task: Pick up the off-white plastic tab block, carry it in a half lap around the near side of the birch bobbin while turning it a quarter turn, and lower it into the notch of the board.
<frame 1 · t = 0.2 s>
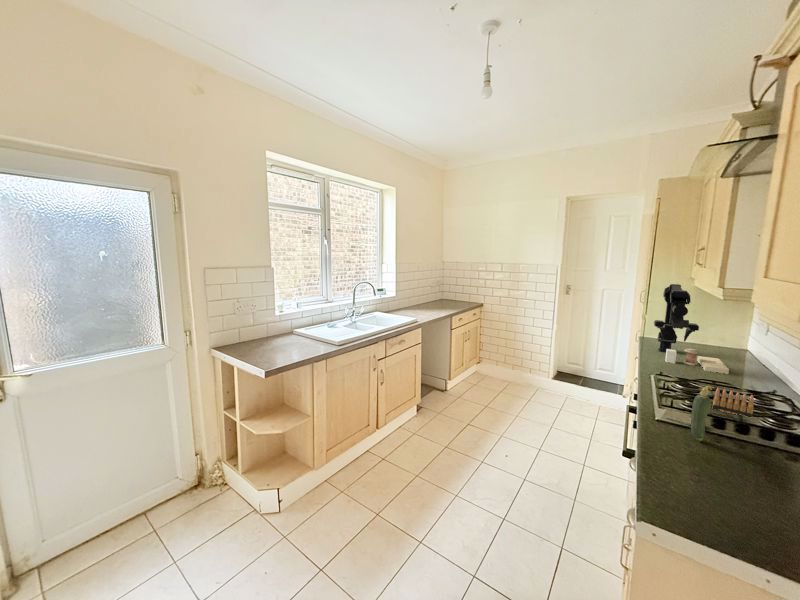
hand: (673, 339, 180), 14 cm above the table, tool pointing down, fingers open, 9 cm apart
ammunition clip: (730, 421, 121), on the table
tab block: (670, 361, 185), on the table
notched board: (711, 366, 176), on the table
vegetable: (696, 440, 109), on the table
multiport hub: (684, 423, 121), on the table
bobbin: (690, 363, 181), on the table
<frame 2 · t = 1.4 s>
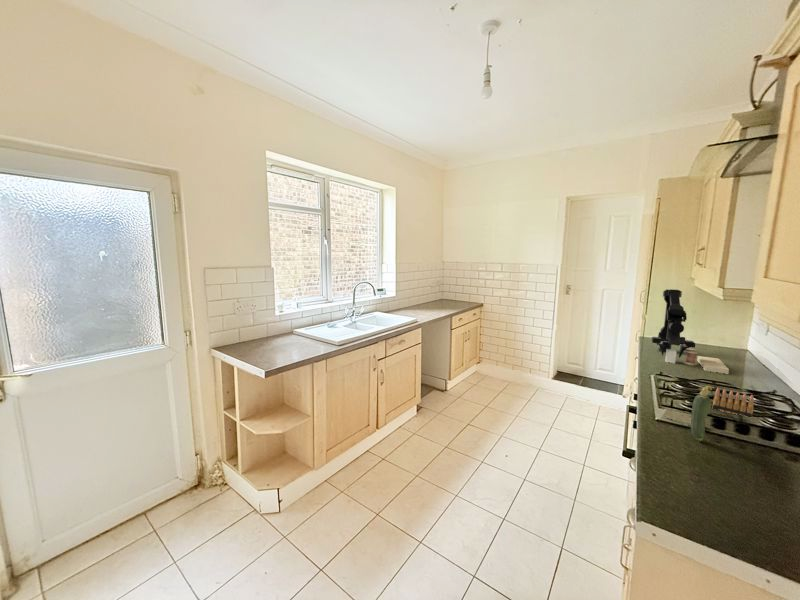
hand: (670, 356, 184), 3 cm above the table, tool pointing down, fingers open, 7 cm apart
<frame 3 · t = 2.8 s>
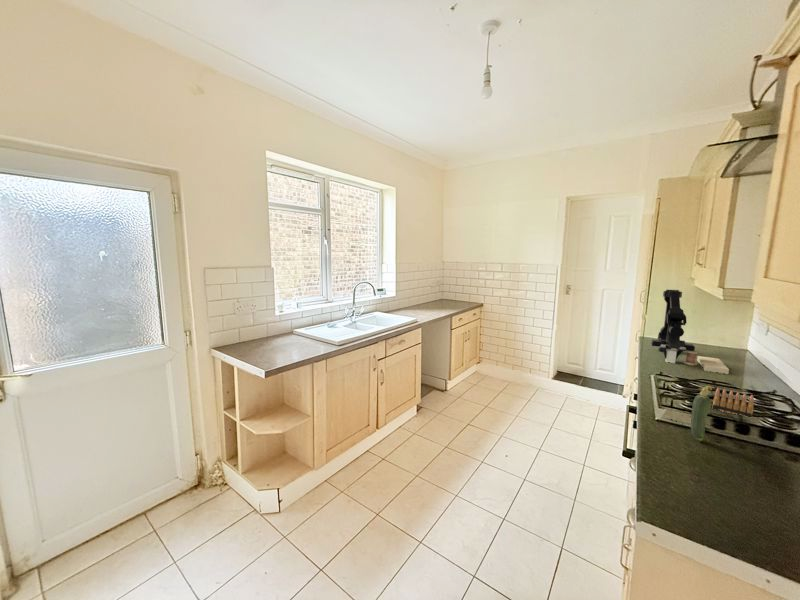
hand: (670, 359, 184), 2 cm above the table, tool pointing down, fingers closed on tab block, 4 cm apart
tab block: (670, 361, 185), on the table, touching gripper
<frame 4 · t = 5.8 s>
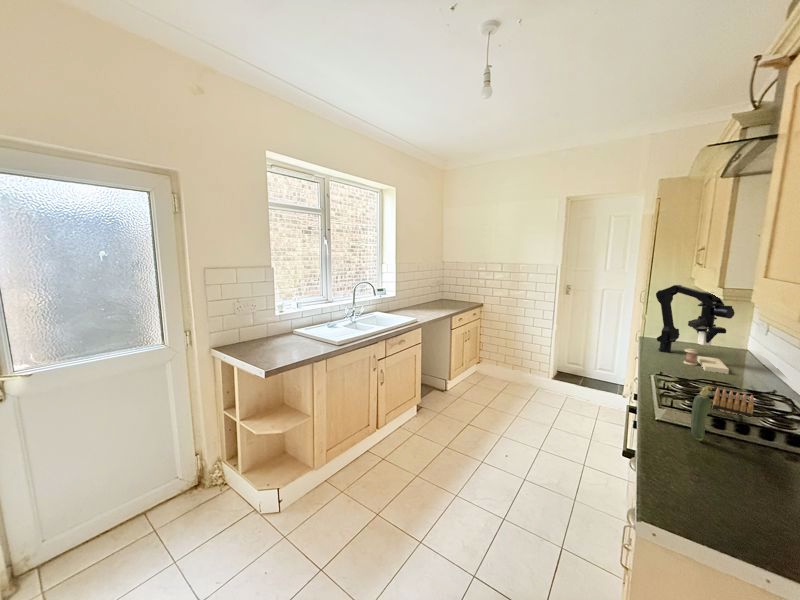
hand: (704, 341, 182), 12 cm above the table, tool pointing down, fingers closed on tab block, 4 cm apart
tab block: (703, 344, 183), point 11 cm above the table, touching gripper
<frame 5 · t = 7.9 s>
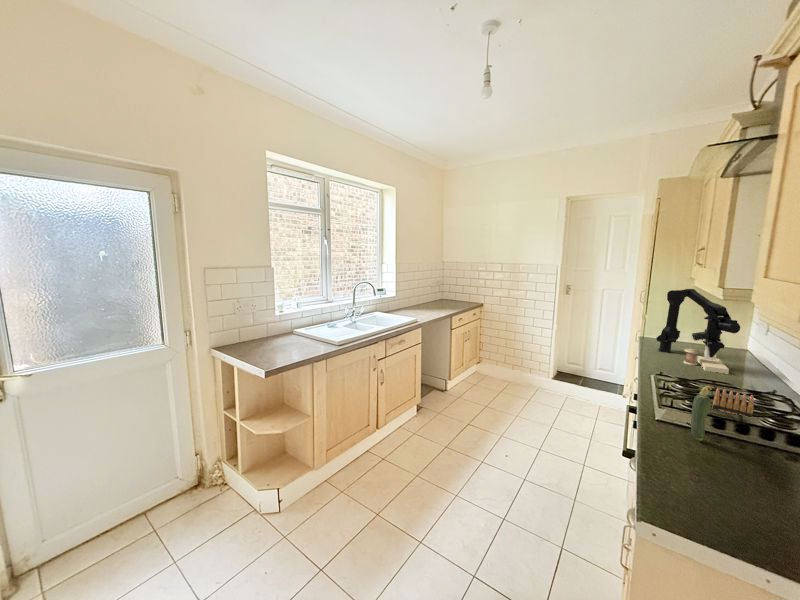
hand: (709, 356, 176), 6 cm above the table, tool pointing down, fingers closed on tab block, 4 cm apart
tab block: (709, 358, 177), point 4 cm above the table, touching gripper
when the fingers open (3 cm above the table, at t = 9.2 s): tab block drops 1 cm, resting on notched board.
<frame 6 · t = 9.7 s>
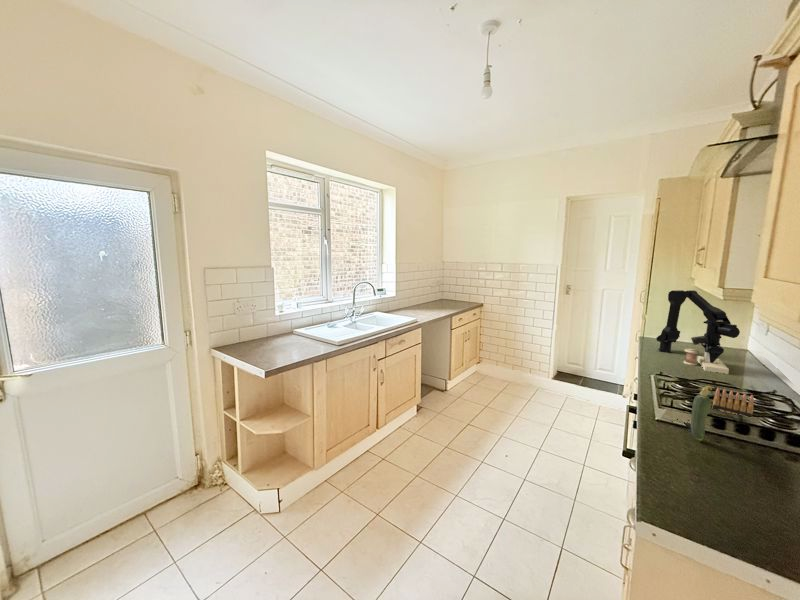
hand: (709, 360, 177), 3 cm above the table, tool pointing down, fingers open, 9 cm apart
tab block: (708, 365, 177), point 1 cm above the table, touching notched board
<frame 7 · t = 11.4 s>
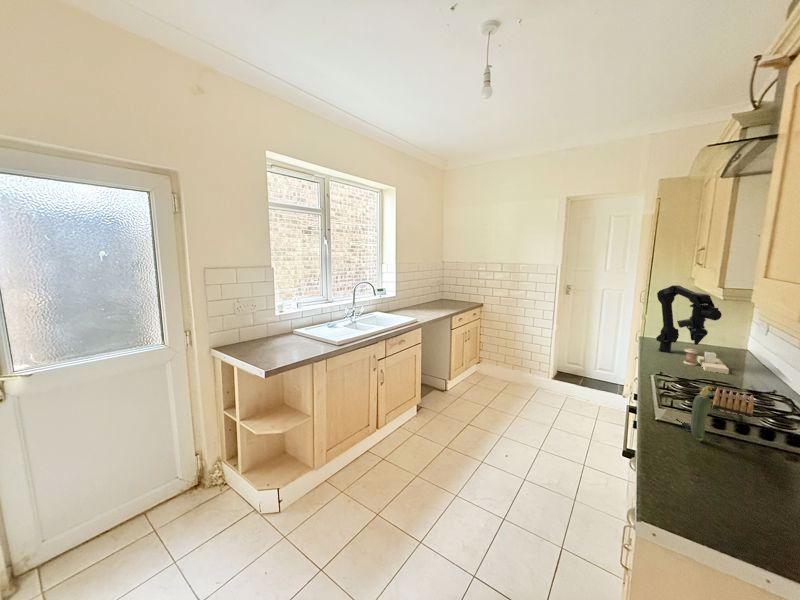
hand: (694, 342, 183), 11 cm above the table, tool pointing down, fingers open, 9 cm apart
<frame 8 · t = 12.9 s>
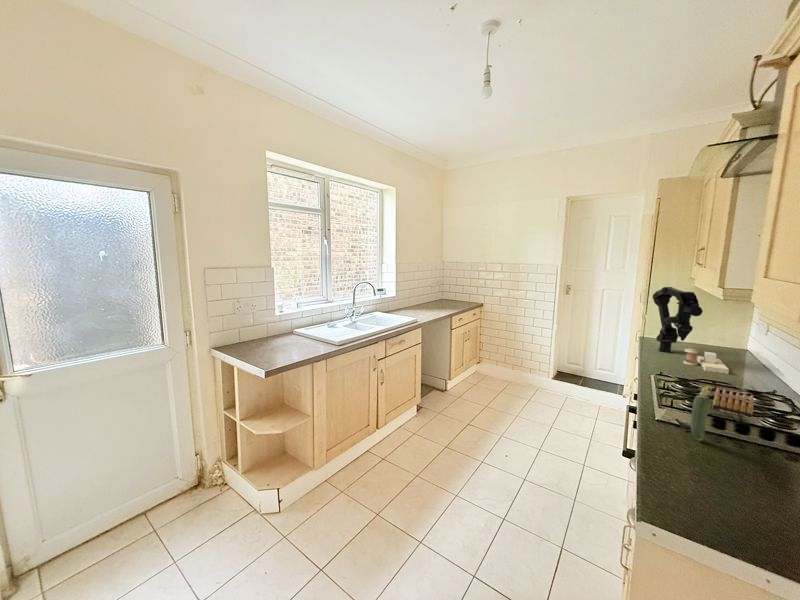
hand: (680, 338, 189), 12 cm above the table, tool pointing down, fingers open, 9 cm apart
at the end: tab block 0.1 cm from the target spot on the notched board, point 0.6 cm above the notched board's base; tab block touching notched board; the gripper is holding nothing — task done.
